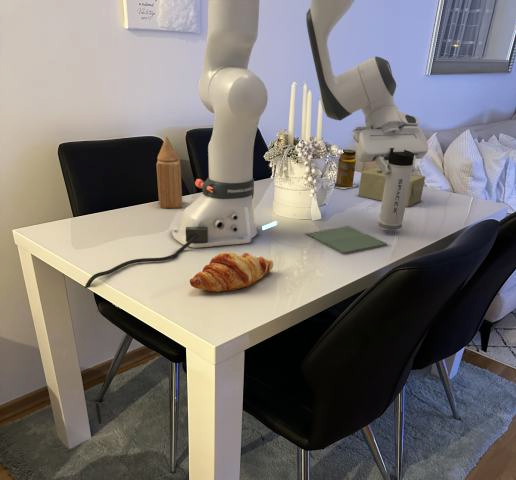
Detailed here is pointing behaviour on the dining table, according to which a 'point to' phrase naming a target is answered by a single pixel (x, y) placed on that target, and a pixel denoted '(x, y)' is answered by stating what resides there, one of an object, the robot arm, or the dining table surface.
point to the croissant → (231, 272)
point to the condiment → (346, 170)
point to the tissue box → (375, 183)
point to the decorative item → (169, 177)
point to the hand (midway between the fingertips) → (400, 172)
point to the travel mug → (396, 189)
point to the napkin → (347, 240)
